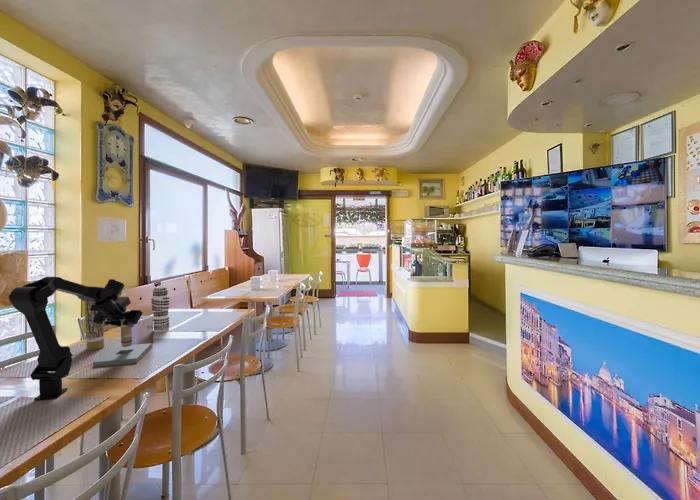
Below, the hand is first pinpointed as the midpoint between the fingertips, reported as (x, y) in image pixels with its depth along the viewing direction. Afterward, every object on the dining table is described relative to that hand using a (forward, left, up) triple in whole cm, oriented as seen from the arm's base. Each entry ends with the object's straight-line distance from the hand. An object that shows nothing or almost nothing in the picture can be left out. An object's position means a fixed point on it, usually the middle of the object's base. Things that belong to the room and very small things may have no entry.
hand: (128, 326), depth 146 cm
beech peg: (-1, 0, -9) cm, 9 cm away
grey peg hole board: (-1, +1, -14) cm, 14 cm away
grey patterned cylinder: (+15, +19, -14) cm, 28 cm away
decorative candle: (+40, -3, -14) cm, 43 cm away
